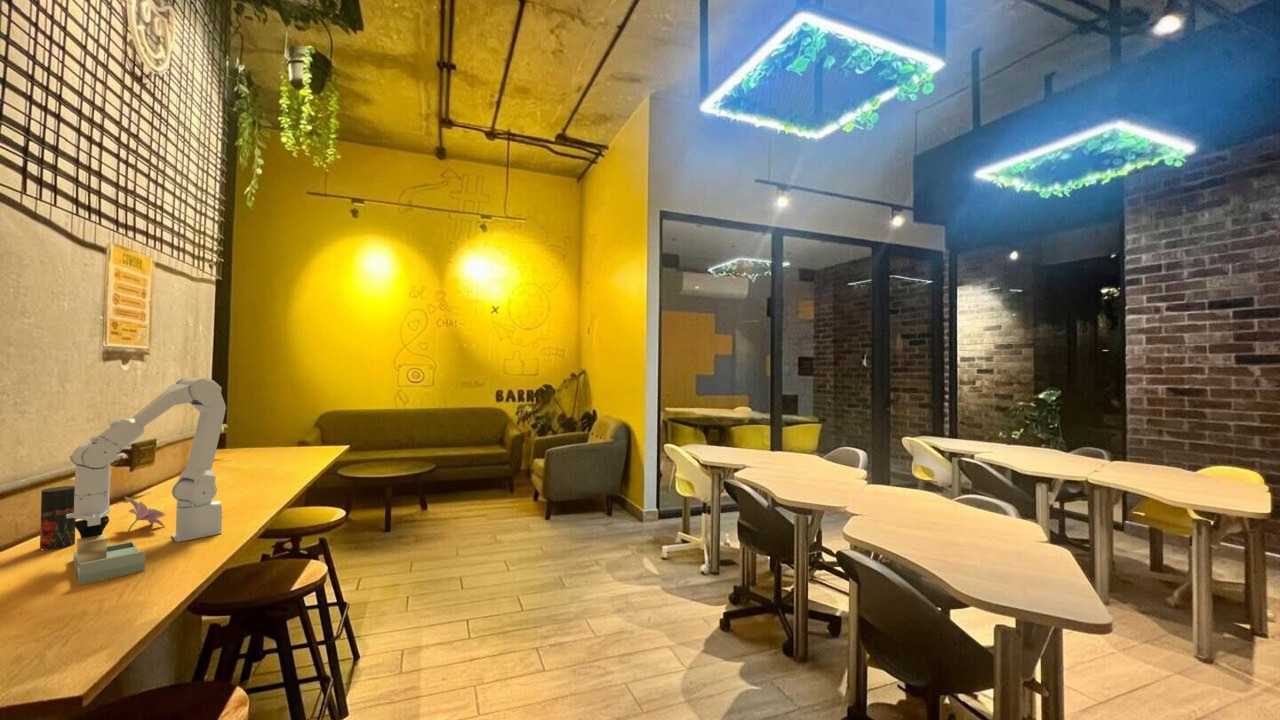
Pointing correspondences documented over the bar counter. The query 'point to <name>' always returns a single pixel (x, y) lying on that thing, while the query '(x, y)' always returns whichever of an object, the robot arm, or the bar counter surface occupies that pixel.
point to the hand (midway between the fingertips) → (90, 549)
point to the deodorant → (57, 518)
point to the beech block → (91, 548)
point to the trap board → (111, 563)
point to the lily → (145, 513)
